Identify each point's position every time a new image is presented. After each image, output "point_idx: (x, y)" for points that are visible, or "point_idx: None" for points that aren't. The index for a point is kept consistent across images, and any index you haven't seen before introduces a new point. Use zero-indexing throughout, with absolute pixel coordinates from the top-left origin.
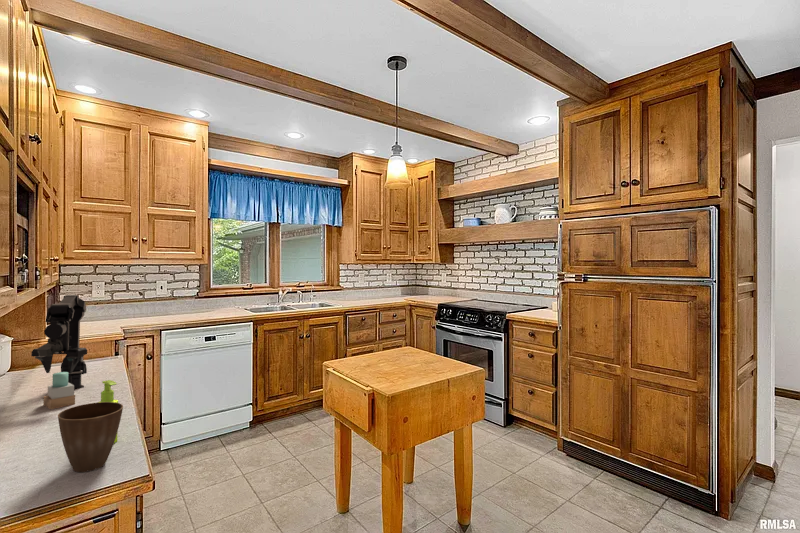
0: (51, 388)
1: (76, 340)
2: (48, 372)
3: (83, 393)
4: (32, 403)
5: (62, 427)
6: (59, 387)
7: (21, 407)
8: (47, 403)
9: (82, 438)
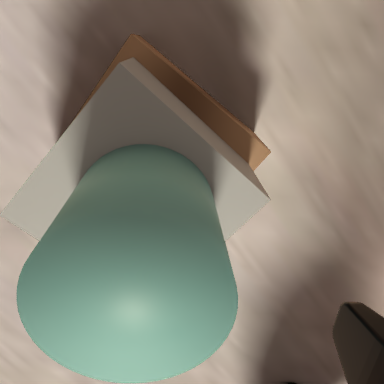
0: (158, 98)
1: None
2: (340, 323)
3: None
4: (348, 174)
5: None
6: (96, 139)
7: (373, 91)
8: (195, 85)
9: None
